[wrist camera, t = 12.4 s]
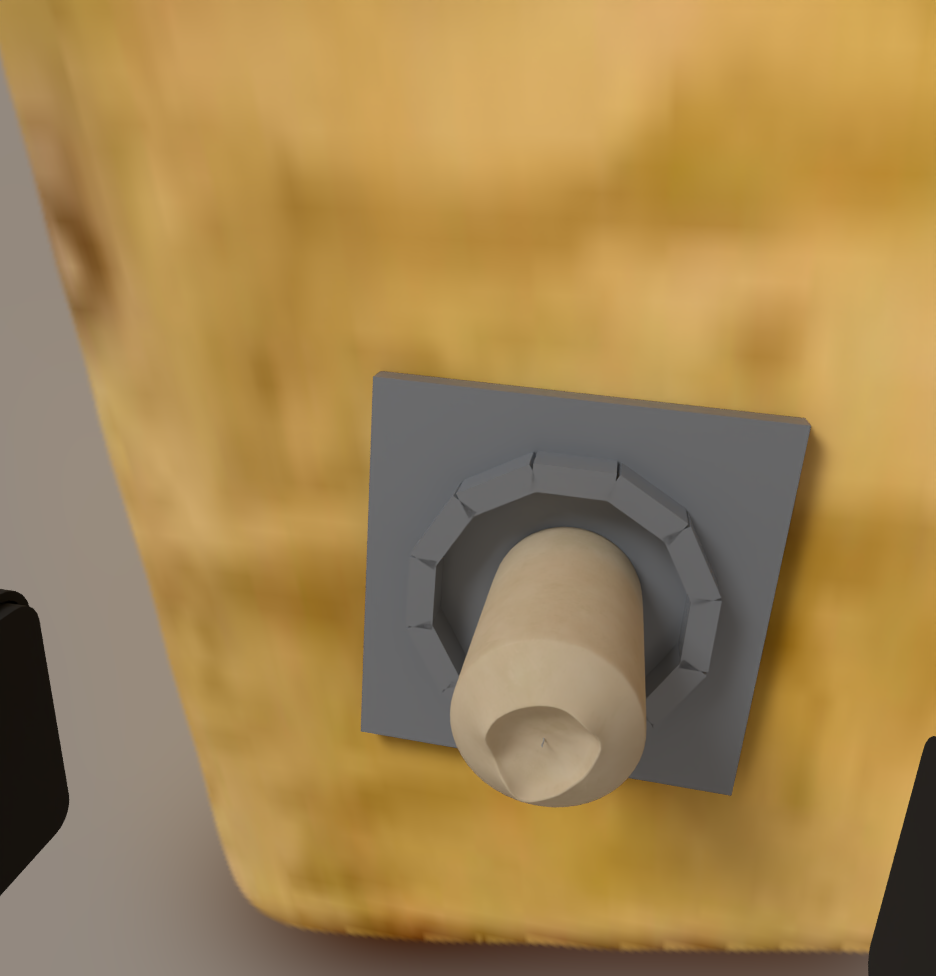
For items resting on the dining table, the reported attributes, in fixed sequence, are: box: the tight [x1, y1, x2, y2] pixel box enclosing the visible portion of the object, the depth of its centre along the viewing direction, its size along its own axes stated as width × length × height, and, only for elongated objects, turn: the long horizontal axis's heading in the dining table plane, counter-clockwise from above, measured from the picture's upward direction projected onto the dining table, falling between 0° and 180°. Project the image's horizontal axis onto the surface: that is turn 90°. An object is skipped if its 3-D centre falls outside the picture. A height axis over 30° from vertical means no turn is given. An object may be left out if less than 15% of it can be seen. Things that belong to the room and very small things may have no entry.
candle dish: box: [361, 371, 811, 796], centre depth 32 cm, size 15×15×2 cm
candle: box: [450, 527, 646, 807], centre depth 27 cm, size 6×6×10 cm
